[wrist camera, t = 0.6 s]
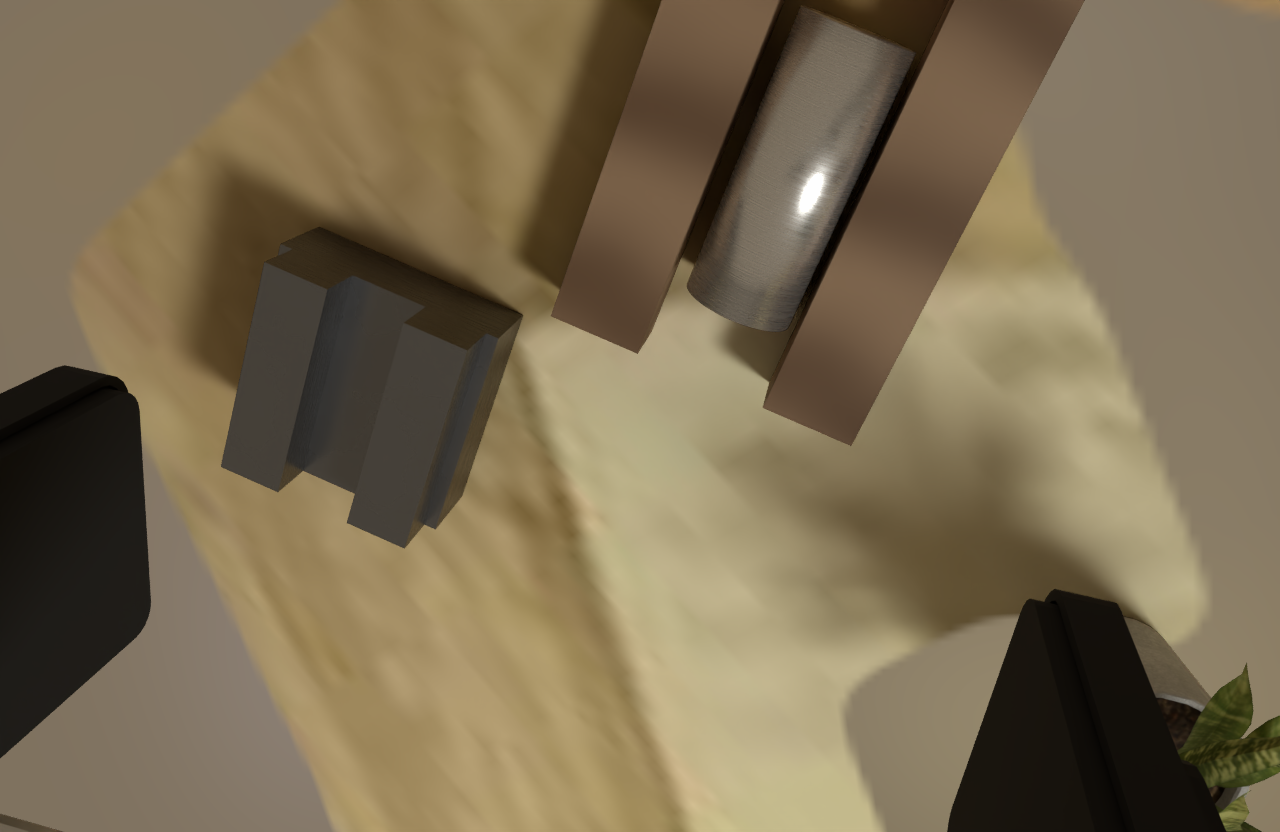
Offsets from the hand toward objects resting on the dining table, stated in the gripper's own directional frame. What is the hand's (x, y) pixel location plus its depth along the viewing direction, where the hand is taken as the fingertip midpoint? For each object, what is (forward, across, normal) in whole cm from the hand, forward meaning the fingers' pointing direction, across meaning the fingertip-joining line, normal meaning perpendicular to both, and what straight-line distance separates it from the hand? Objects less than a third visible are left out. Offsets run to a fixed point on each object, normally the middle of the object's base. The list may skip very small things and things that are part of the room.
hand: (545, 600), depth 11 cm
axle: (+30, -1, 0) cm, 30 cm away
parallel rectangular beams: (+29, -1, -1) cm, 29 cm away
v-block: (+29, +14, +11) cm, 34 cm away
